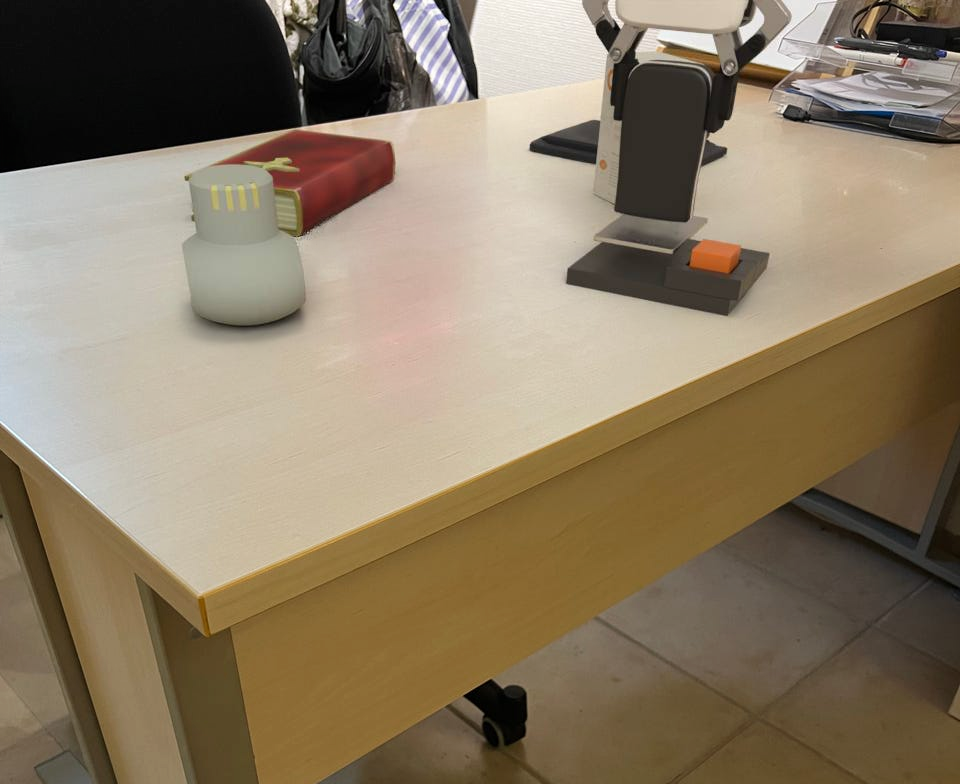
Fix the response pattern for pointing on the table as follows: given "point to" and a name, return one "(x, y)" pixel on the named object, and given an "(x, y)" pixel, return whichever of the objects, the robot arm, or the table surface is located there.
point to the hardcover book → (318, 174)
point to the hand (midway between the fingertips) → (668, 121)
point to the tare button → (715, 256)
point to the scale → (667, 276)
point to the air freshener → (240, 249)
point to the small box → (615, 131)
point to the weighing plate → (650, 233)
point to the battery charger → (663, 139)
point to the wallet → (593, 144)
